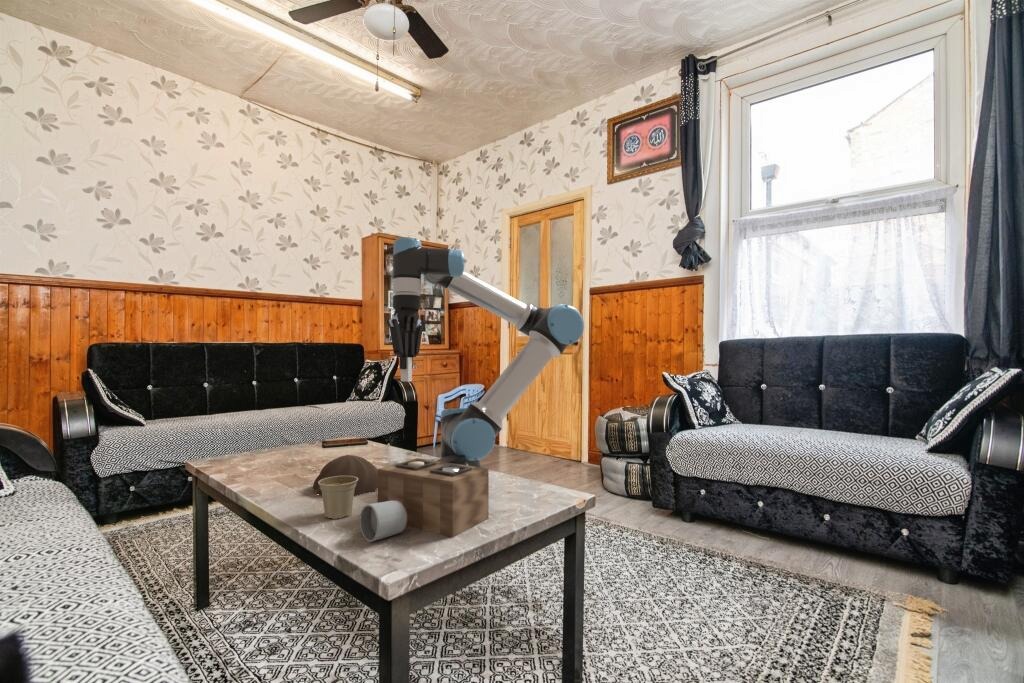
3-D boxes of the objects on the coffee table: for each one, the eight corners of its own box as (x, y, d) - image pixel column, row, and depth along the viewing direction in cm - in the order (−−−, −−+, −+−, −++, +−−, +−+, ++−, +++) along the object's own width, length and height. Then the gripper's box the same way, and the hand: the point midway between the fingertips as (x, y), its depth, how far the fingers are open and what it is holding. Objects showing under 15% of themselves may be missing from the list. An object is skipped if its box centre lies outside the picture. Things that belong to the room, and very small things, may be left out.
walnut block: (417, 503, 128) (417, 455, 129) (488, 518, 117) (488, 466, 117) (377, 518, 116) (377, 466, 117) (452, 537, 105) (452, 478, 105)
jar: (447, 511, 123) (438, 465, 123) (439, 504, 131) (430, 460, 131) (479, 500, 127) (470, 455, 127) (470, 494, 134) (461, 452, 134)
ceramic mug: (410, 535, 106) (410, 500, 106) (377, 546, 100) (377, 508, 100) (383, 524, 113) (383, 491, 113) (351, 534, 107) (351, 499, 107)
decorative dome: (316, 502, 131) (316, 465, 131) (311, 484, 148) (311, 451, 149) (388, 492, 139) (388, 458, 139) (375, 477, 157) (375, 446, 157)
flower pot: (315, 513, 121) (315, 478, 121) (353, 506, 126) (353, 473, 126) (321, 524, 113) (321, 487, 113) (362, 517, 118) (362, 481, 118)
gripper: (412, 298, 140) (412, 379, 139) (379, 293, 128) (378, 382, 128) (432, 296, 136) (432, 380, 135) (400, 291, 124) (399, 382, 124)
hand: (406, 381), depth 131 cm, fingers closed
